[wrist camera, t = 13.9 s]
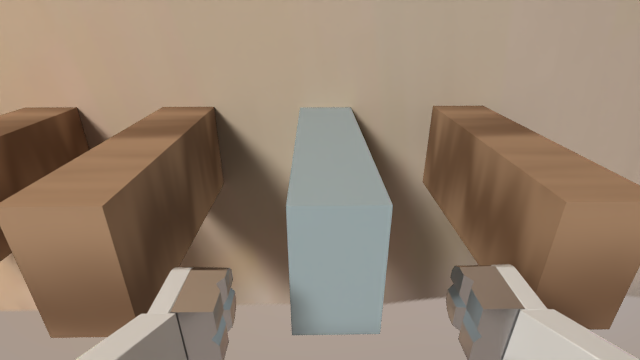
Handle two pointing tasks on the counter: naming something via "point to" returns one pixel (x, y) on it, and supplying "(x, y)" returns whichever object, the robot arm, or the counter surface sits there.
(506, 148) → the brown wooden block
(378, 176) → the light blue domino
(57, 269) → the domino
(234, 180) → the counter surface
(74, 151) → the domino
